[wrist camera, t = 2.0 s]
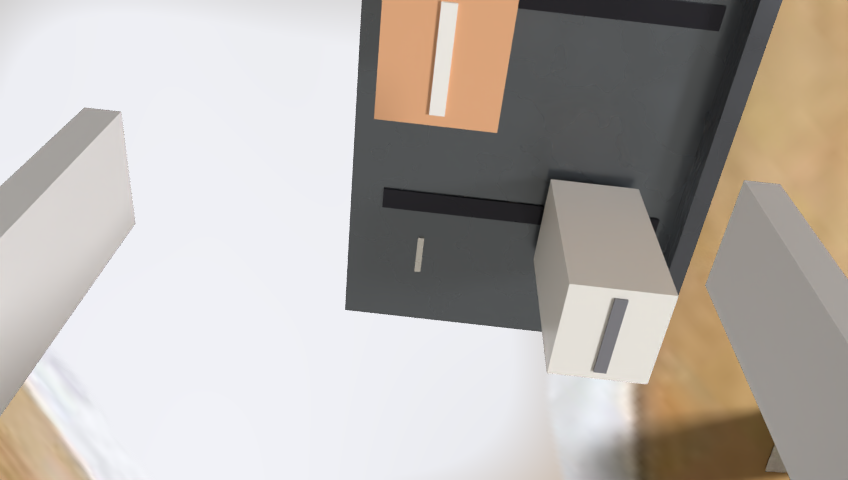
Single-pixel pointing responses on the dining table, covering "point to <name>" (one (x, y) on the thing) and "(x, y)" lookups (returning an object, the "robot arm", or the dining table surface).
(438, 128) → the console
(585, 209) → the fader ivory
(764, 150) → the dining table surface
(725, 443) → the dining table surface
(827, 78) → the dining table surface
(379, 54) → the fader terracotta
